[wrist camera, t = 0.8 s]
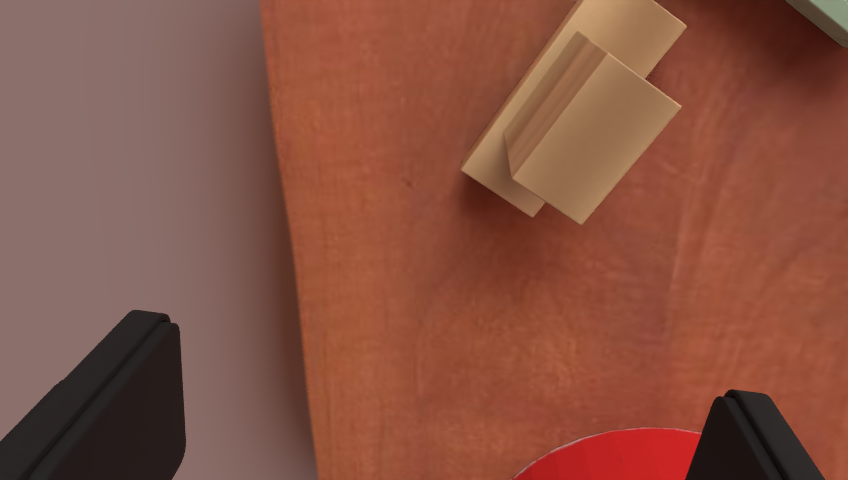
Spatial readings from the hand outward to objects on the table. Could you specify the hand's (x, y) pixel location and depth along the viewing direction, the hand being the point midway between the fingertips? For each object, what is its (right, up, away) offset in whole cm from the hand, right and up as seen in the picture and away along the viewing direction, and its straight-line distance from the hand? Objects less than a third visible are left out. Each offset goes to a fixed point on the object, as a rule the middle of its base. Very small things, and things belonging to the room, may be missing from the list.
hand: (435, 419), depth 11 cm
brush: (+6, +10, +18) cm, 21 cm away
